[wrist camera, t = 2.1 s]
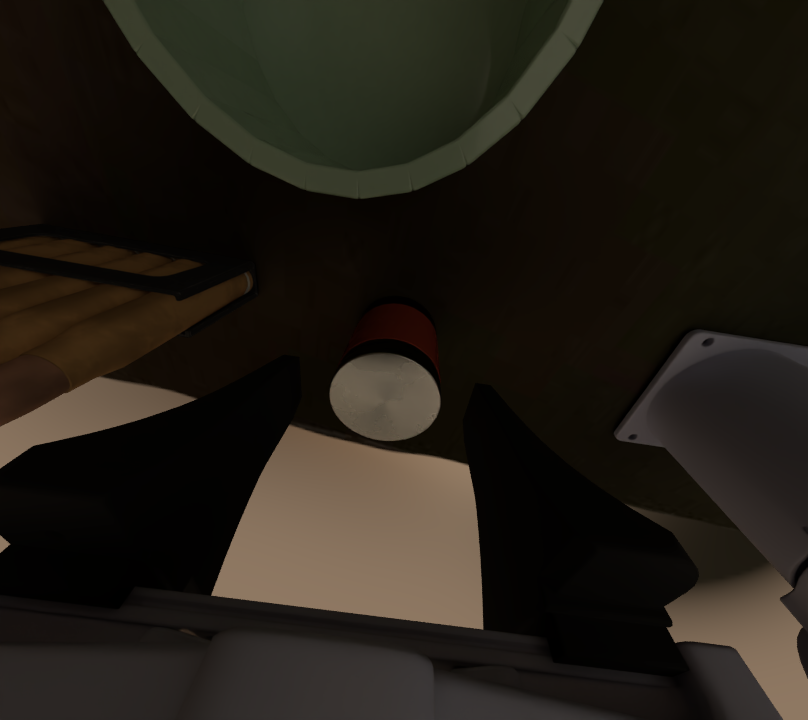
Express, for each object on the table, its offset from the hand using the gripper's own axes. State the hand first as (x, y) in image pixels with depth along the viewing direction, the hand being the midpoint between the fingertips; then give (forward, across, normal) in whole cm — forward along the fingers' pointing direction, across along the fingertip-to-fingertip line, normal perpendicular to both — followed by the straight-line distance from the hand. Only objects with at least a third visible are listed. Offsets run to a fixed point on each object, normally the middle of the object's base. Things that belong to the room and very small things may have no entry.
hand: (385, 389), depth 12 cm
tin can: (+5, 0, 0) cm, 5 cm away
